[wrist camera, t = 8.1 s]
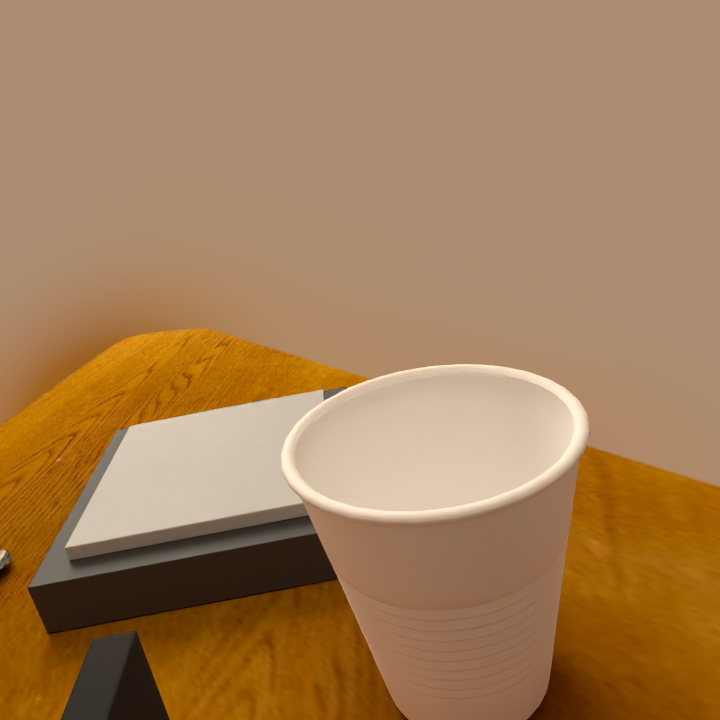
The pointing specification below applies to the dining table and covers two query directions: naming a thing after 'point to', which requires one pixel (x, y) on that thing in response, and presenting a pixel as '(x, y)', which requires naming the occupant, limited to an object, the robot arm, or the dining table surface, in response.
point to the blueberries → (4, 558)
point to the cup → (447, 528)
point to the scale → (184, 519)
